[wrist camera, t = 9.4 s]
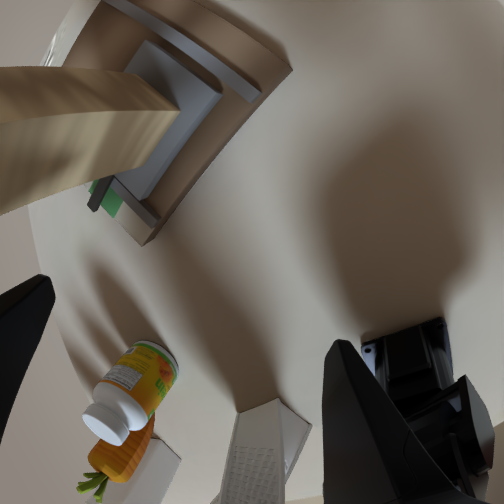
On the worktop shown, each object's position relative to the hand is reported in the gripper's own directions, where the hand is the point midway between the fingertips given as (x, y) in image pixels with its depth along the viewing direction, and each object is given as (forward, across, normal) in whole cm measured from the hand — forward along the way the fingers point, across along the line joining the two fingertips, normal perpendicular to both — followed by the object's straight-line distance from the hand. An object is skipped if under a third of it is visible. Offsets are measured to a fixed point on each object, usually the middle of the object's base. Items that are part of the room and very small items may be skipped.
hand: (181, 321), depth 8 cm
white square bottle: (+8, +5, +40) cm, 41 cm away
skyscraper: (+7, -8, +21) cm, 24 cm away
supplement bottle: (+11, +5, +19) cm, 22 cm away
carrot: (+10, +5, +28) cm, 30 cm away
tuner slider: (+12, +6, -1) cm, 14 cm away
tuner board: (+15, +8, -4) cm, 17 cm away
